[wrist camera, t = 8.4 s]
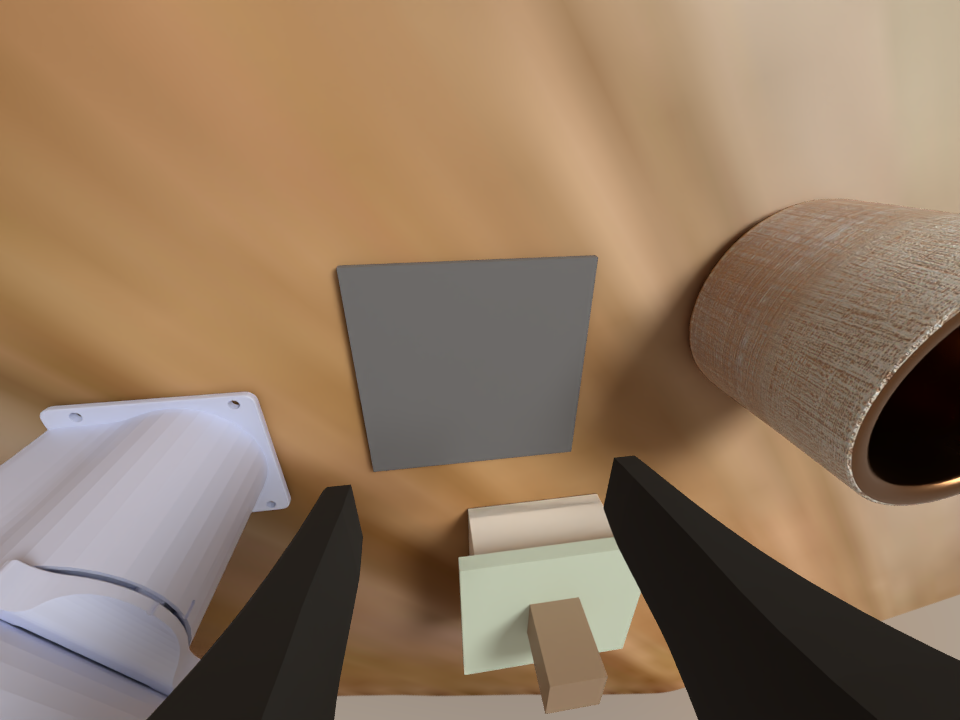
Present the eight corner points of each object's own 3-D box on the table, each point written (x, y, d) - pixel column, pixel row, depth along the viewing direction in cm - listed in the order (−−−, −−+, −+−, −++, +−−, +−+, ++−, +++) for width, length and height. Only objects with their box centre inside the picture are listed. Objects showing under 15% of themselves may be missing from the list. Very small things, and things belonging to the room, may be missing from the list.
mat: (374, 466, 23) (373, 471, 23) (338, 265, 17) (336, 267, 17) (568, 447, 24) (571, 451, 24) (594, 255, 19) (597, 257, 18)
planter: (857, 346, 24) (1094, 450, 16) (689, 409, 24) (830, 543, 16) (888, 160, 19) (1271, 167, 10) (672, 246, 19) (870, 320, 11)
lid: (463, 661, 26) (471, 757, 22) (458, 557, 21) (468, 658, 17) (617, 635, 28) (652, 722, 23) (648, 532, 22) (702, 620, 18)
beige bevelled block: (470, 589, 30) (478, 655, 26) (467, 508, 26) (476, 573, 22) (581, 573, 31) (605, 634, 27) (596, 493, 27) (627, 552, 23)
